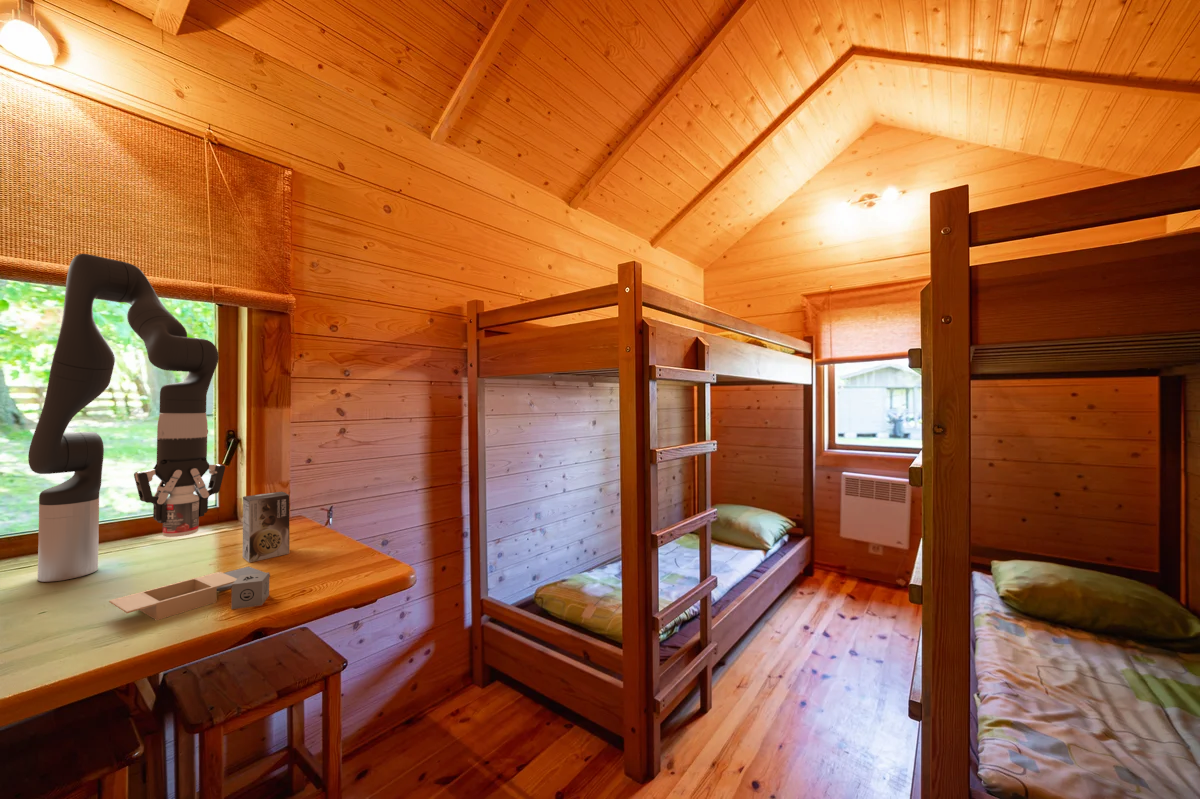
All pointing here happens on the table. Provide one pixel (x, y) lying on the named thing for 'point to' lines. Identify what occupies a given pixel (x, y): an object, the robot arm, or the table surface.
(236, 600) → the dice cube
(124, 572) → the table surface
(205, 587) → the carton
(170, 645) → the table surface
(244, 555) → the coffee box
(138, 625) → the table surface
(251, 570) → the mat
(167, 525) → the pill bottle
